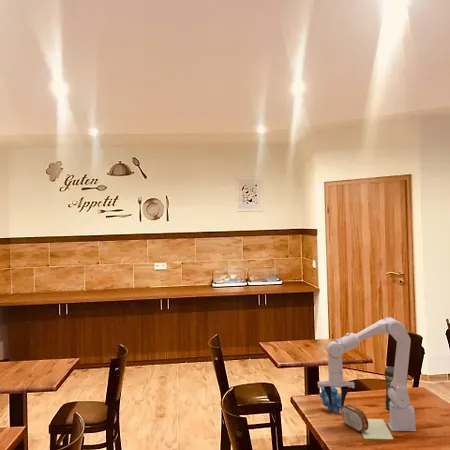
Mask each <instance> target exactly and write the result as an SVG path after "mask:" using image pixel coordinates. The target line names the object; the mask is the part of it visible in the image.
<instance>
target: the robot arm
mask: <svg viewBox="0 0 450 450" xmlns="http://www.w3.org/2000/svg"><path fill="white" fill-rule="evenodd" d="M377 334H380V335H381V334H382V335H388V334H389V335H390V336H391V337H392V338H393V339H394V340H395V341H396V349H395V356H394V357H395V358H394V366H393V367H394V376H393V380H392V382H391V385H390V388H389V389H388V392H387V394H388V397H389V398H390V403H389V407H390V410H389V421H388V422H387V426H388V428H389V430H390V431H392V432H393V431H394V432H417V429H416V413H415V407H414V406H413V405H410V401H411V398H410V396H409V387H408V384H407V383H408V379H407V374H408V372H409V371H408V370H409V361H410V350H411V342H412V341H411V337H410V335H409V333H408V331H407V329H406V326H405V325H404V324H403V323H402V322H401V321H399V320H397V319H395V318H394V317H392V316H386V317H384V318H383V319H379V320H378V321H376V322H375V323H372V324H371V325H370V326H368V327H366V328H364V329H362V330H361V331H359V332H357V333H354V332H351V333H350V332H347V333H345V335H344V336H342V337H340V338H336V339H335V340H332V341H330V342H328V343H327V346H326V351H327V355H328V356H327V358H328V360H327V363H328V364H327V365H328V367H327V369H328V380H324V381H317V387H318V389H321V387H324V388H325V391H326V393H327V395H328V398H329V403H330V406H332V400H331V388H330V387H332V388H333V387H335V388H340V392H341V393H340V395H341V401H340V402H341V405H342V406H345V401H346V397H347V395H348V393H349V388H351V389H355V382H354V381H346V380H345V381H344V376H343V375H344V371H343V369H344V368H343V366H344V365H343V355H344V353H347V352H349V351H351V350H352V349H355V348H357V347H359V346H360V343H361V342H362V341H364V340H366V339H368V338H371V337H373V336H375V335H377Z"/></svg>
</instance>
